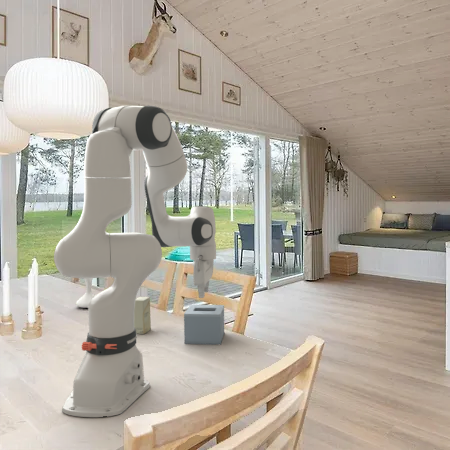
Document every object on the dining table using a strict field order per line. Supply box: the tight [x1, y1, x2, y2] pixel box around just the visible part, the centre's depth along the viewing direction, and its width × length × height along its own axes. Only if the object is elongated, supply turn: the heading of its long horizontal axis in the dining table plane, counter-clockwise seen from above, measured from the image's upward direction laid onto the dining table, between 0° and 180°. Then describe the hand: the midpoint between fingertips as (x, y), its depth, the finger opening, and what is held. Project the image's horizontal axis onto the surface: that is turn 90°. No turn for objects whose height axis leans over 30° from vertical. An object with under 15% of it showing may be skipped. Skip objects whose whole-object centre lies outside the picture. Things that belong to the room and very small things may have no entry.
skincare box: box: [134, 296, 152, 335], centre depth 148 cm, size 6×4×12 cm
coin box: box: [183, 304, 225, 346], centre depth 139 cm, size 12×12×10 cm
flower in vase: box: [75, 278, 97, 309], centre depth 184 cm, size 13×11×25 cm
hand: (203, 294), depth 139 cm, fingers open, 8 cm apart
